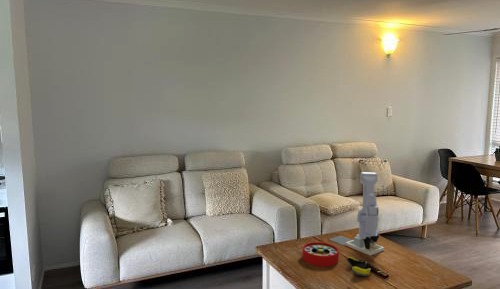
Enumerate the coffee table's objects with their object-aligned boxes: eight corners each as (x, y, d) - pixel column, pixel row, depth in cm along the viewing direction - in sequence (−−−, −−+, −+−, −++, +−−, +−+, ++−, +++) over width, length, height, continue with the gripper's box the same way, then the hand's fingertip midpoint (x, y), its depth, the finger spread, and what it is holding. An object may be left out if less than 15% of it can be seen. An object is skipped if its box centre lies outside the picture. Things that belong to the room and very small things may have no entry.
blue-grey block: (358, 243, 232) (358, 235, 232) (364, 246, 229) (364, 238, 228) (353, 245, 230) (354, 237, 229) (359, 247, 226) (360, 239, 225)
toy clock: (321, 259, 197) (295, 247, 213) (321, 270, 198) (295, 257, 214) (346, 250, 209) (319, 239, 225) (345, 260, 210) (319, 248, 226)
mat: (341, 236, 246) (341, 235, 246) (355, 242, 236) (356, 241, 236) (328, 240, 239) (328, 239, 239) (343, 246, 229) (343, 245, 229)
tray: (345, 246, 229) (345, 242, 229) (359, 241, 237) (359, 237, 237) (370, 256, 215) (370, 252, 215) (383, 251, 222) (384, 247, 222)
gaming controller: (352, 278, 189) (372, 279, 188) (352, 268, 188) (372, 268, 188) (346, 265, 204) (364, 265, 203) (346, 255, 203) (365, 256, 203)
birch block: (369, 247, 226) (369, 239, 225) (375, 250, 222) (376, 242, 222) (364, 249, 223) (364, 241, 223) (370, 252, 220) (371, 243, 219)
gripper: (369, 230, 213) (368, 252, 215) (384, 225, 222) (383, 247, 223) (359, 226, 219) (358, 248, 221) (374, 222, 227) (373, 243, 229)
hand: (370, 247), depth 223 cm, fingers open, 5 cm apart
